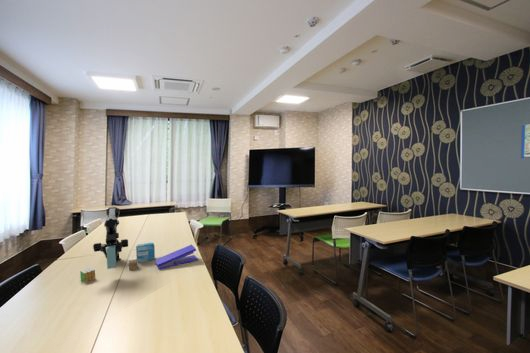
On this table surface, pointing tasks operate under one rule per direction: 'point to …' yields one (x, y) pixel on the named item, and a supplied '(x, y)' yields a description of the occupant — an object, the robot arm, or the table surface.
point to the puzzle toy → (87, 274)
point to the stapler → (177, 257)
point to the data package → (145, 252)
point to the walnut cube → (133, 264)
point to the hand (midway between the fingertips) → (111, 257)
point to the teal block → (111, 257)
